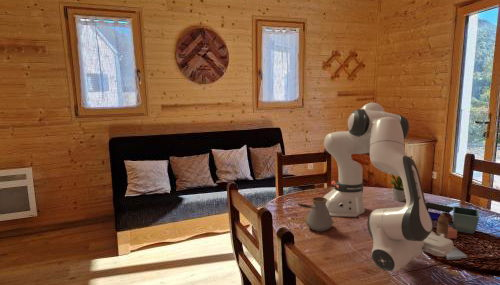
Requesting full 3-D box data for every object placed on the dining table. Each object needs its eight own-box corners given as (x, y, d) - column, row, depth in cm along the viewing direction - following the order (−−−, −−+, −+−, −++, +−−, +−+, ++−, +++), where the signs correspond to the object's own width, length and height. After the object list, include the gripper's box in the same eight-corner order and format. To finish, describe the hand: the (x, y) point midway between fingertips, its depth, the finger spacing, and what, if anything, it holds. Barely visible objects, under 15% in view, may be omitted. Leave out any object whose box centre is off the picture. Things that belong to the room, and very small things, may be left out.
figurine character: (413, 220, 153) (449, 227, 141) (412, 204, 152) (448, 209, 141) (419, 216, 157) (455, 222, 146) (418, 200, 157) (454, 205, 145)
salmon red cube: (446, 241, 130) (447, 231, 129) (440, 236, 134) (440, 227, 133) (456, 240, 130) (457, 230, 129) (449, 235, 134) (450, 226, 133)
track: (447, 259, 116) (448, 257, 116) (410, 230, 140) (410, 228, 139) (467, 258, 116) (467, 255, 116) (426, 229, 140) (426, 227, 140)
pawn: (439, 247, 123) (441, 218, 121) (432, 241, 127) (433, 214, 125) (450, 246, 123) (453, 218, 121) (443, 241, 127) (445, 213, 125)
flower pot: (477, 238, 131) (479, 216, 129) (451, 233, 136) (452, 212, 134) (476, 230, 138) (478, 209, 137) (451, 225, 143) (453, 206, 141)
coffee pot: (315, 220, 152) (315, 188, 150) (337, 227, 144) (338, 194, 142) (286, 235, 137) (286, 201, 135) (309, 244, 130) (309, 207, 127)
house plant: (421, 205, 168) (423, 173, 165) (393, 205, 168) (394, 174, 165) (408, 195, 182) (409, 166, 179) (382, 196, 182) (383, 167, 179)
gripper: (443, 246, 99) (461, 232, 108) (380, 224, 115) (400, 213, 123) (442, 265, 100) (460, 250, 109) (379, 241, 116) (399, 229, 125)
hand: (427, 230), depth 116 cm, fingers open, 8 cm apart
